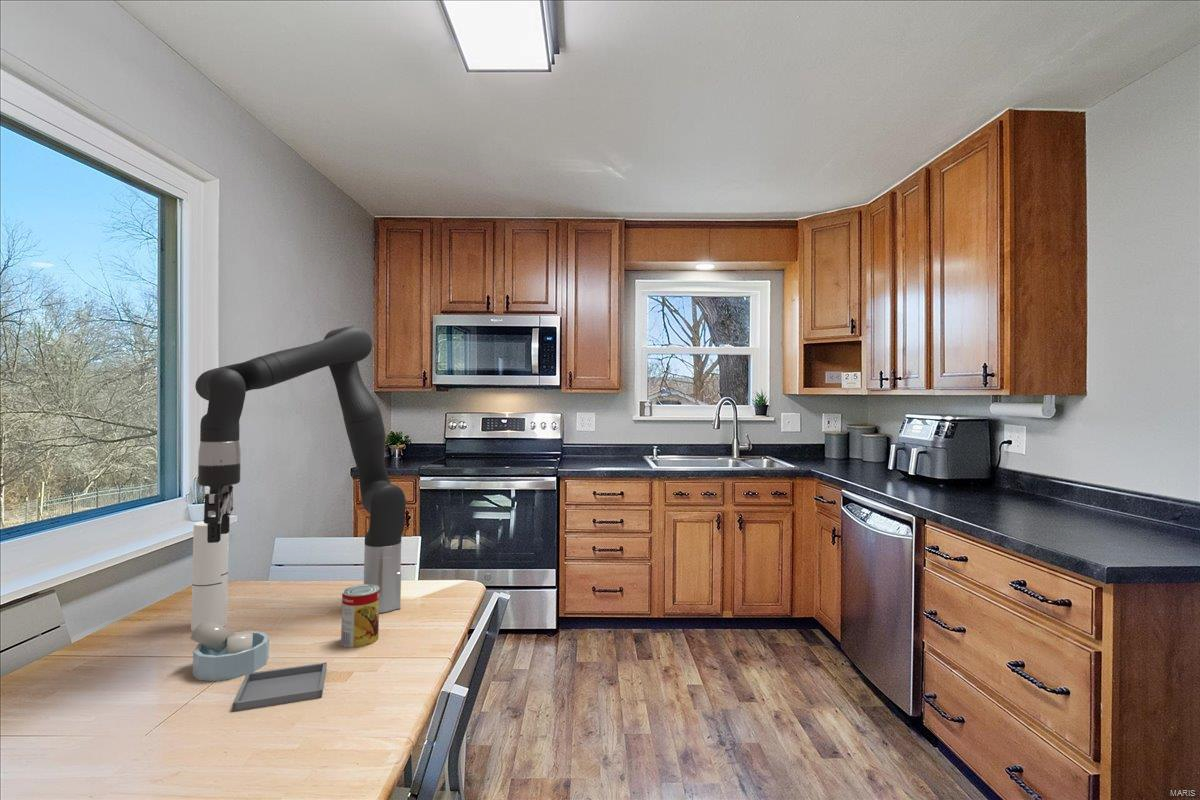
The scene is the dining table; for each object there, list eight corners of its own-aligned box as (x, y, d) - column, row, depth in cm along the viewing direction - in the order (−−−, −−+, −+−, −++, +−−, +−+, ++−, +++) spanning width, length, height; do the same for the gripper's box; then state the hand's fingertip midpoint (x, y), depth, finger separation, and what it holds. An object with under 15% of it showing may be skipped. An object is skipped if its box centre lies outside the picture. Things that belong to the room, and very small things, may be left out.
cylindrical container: (233, 621, 140) (236, 520, 140) (211, 632, 133) (214, 526, 133) (207, 619, 141) (209, 519, 141) (183, 631, 134) (186, 525, 134)
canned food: (385, 639, 131) (387, 587, 131) (358, 652, 124) (359, 597, 124) (361, 633, 134) (362, 582, 135) (333, 645, 127) (334, 591, 128)
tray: (326, 671, 115) (326, 662, 115) (321, 699, 104) (321, 690, 104) (246, 682, 110) (246, 673, 110) (232, 714, 99) (232, 703, 99)
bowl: (272, 651, 124) (272, 628, 124) (261, 676, 112) (262, 651, 112) (203, 659, 119) (204, 635, 119) (185, 687, 107) (186, 661, 108)
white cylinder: (237, 631, 118) (211, 617, 118) (228, 632, 114) (202, 619, 114) (223, 651, 117) (197, 638, 117) (213, 654, 113) (186, 640, 113)
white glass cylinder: (253, 659, 118) (254, 630, 118) (249, 668, 114) (250, 638, 114) (228, 662, 116) (229, 632, 116) (223, 671, 112) (224, 641, 112)
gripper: (233, 465, 116) (232, 544, 116) (246, 458, 129) (245, 529, 129) (189, 466, 113) (188, 547, 113) (207, 459, 126) (206, 532, 126)
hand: (218, 537), depth 121 cm, fingers open, 8 cm apart
